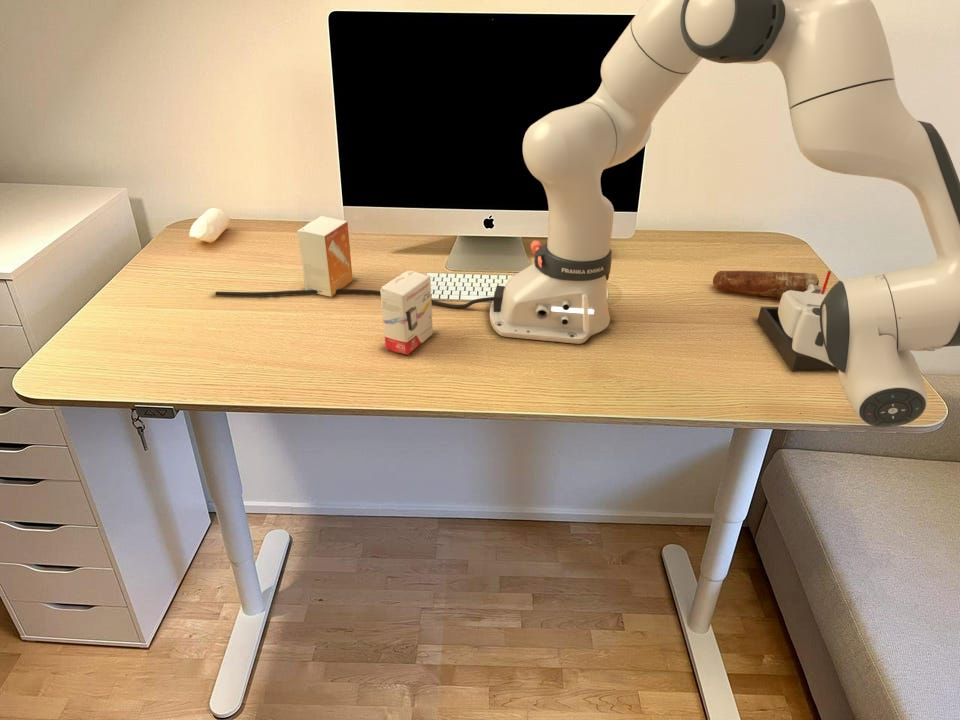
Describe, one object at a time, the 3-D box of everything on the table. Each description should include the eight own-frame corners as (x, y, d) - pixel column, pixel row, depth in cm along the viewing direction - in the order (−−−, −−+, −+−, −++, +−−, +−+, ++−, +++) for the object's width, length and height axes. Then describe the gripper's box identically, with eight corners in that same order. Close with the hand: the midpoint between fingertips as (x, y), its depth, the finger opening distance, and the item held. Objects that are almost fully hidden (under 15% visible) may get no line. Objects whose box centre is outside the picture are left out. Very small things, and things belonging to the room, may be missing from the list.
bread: (812, 307, 138) (820, 282, 134) (711, 294, 142) (716, 268, 139) (809, 292, 143) (817, 267, 139) (711, 279, 147) (716, 255, 144)
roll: (185, 251, 155) (179, 227, 152) (206, 229, 165) (201, 206, 162) (212, 252, 155) (207, 228, 152) (232, 230, 165) (227, 207, 162)
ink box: (407, 357, 122) (403, 296, 115) (383, 349, 124) (378, 289, 117) (434, 334, 128) (432, 275, 121) (411, 326, 130) (408, 268, 124)
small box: (332, 297, 139) (324, 236, 131) (304, 291, 141) (296, 230, 134) (354, 280, 145) (348, 220, 138) (327, 274, 147) (320, 215, 140)
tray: (792, 371, 120) (796, 356, 118) (756, 320, 133) (760, 306, 132) (859, 370, 120) (865, 355, 118) (817, 320, 134) (822, 306, 132)
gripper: (957, 331, 93) (928, 282, 104) (792, 310, 96) (781, 266, 107) (939, 370, 96) (912, 319, 107) (780, 349, 100) (770, 302, 111)
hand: (845, 292), depth 107 cm, fingers open, 8 cm apart
